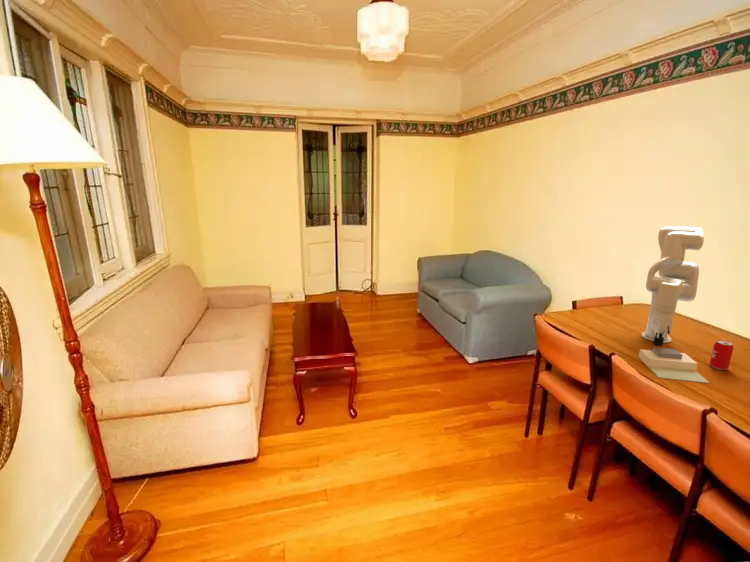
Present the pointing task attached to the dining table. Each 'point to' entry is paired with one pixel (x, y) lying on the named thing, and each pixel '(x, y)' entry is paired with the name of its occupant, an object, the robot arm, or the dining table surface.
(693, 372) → the mat
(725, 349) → the beverage can
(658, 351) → the slate coaster
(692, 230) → the robot arm
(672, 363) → the block
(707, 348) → the dining table surface
